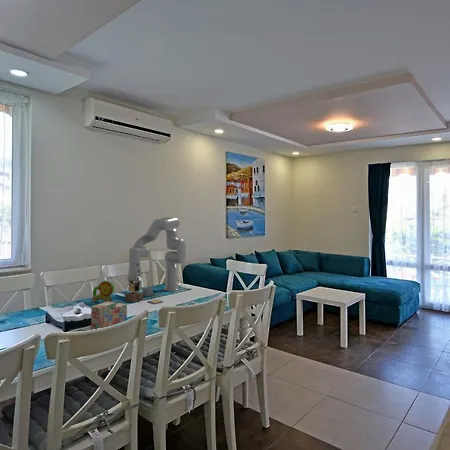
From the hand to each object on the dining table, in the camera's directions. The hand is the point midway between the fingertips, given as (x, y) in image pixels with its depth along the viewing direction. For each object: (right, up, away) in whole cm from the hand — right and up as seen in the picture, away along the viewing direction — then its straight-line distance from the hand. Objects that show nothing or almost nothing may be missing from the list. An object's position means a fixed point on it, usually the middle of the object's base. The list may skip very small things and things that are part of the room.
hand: (134, 289), depth 259 cm
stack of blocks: (-1, -10, -53) cm, 54 cm away
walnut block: (0, -7, 0) cm, 7 cm away
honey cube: (0, -1, 0) cm, 1 cm away
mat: (+16, -8, -4) cm, 18 cm away
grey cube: (+6, -7, +16) cm, 18 cm away
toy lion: (-20, -8, -6) cm, 22 cm away
